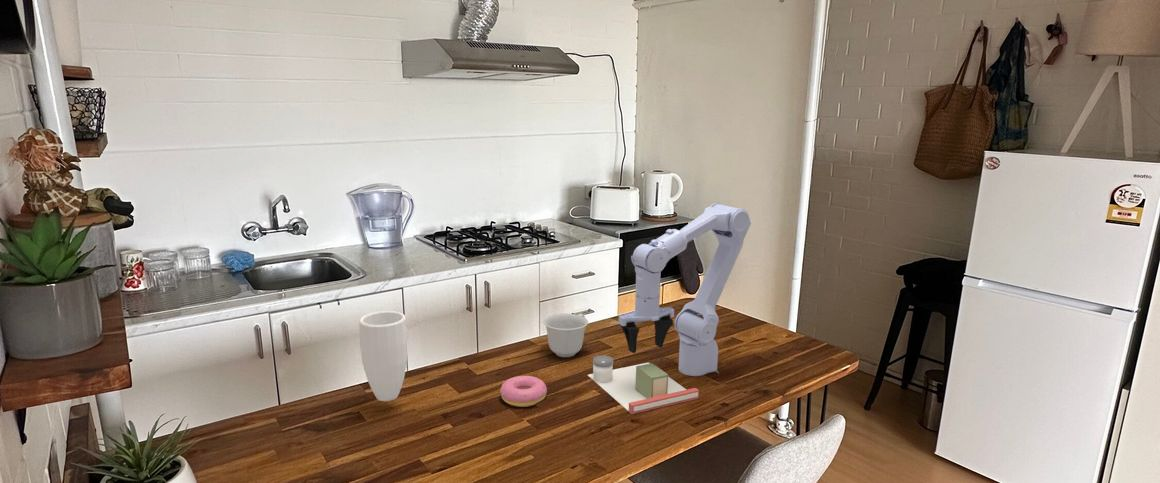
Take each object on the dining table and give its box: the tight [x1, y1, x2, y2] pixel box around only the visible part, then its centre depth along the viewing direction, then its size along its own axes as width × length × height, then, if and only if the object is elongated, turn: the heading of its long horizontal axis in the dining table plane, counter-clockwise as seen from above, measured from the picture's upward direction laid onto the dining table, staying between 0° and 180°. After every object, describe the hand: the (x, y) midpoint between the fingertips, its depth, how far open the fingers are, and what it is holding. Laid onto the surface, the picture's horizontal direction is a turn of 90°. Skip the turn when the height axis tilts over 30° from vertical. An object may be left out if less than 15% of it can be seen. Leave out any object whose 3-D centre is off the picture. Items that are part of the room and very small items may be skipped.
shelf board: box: [587, 362, 700, 415], centre depth 156 cm, size 18×22×3 cm
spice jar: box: [592, 354, 614, 383], centre depth 159 cm, size 5×5×5 cm
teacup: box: [543, 313, 589, 358], centre depth 175 cm, size 12×15×10 cm
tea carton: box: [635, 362, 669, 399], centre depth 151 cm, size 7×4×6 cm, turn 26°
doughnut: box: [499, 375, 548, 408], centre depth 151 cm, size 11×11×4 cm
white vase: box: [358, 310, 408, 402], centre depth 143 cm, size 10×10×22 cm
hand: (645, 348), depth 156 cm, fingers open, 7 cm apart
